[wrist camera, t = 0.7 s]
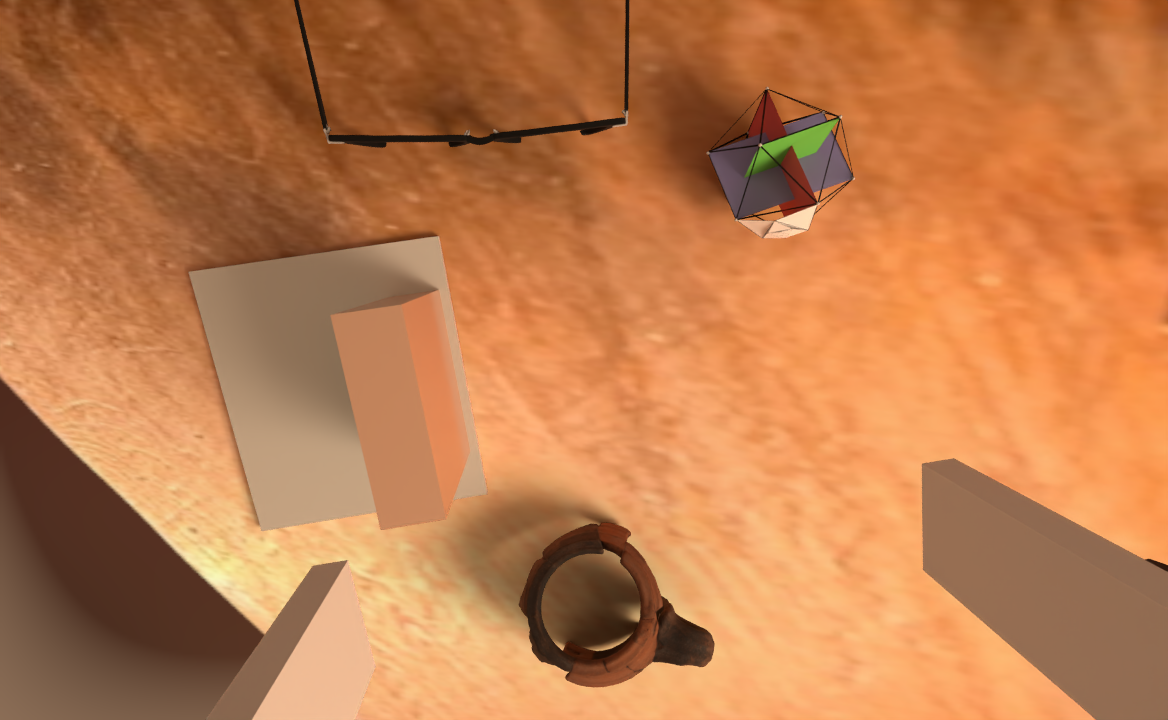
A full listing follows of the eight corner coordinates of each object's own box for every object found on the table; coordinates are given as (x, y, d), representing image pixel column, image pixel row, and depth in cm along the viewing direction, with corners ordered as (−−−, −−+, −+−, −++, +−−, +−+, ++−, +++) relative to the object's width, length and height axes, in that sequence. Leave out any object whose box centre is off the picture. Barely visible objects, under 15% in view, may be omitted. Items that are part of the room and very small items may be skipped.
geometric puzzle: (687, 91, 30) (754, 162, 25) (807, 49, 30) (898, 112, 25) (696, 202, 35) (752, 279, 30) (798, 166, 35) (871, 238, 30)
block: (386, 297, 33) (329, 315, 24) (439, 289, 33) (401, 304, 24) (421, 458, 35) (379, 530, 26) (470, 450, 35) (446, 519, 26)
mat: (192, 271, 32) (188, 271, 32) (439, 236, 33) (437, 235, 32) (264, 528, 35) (261, 531, 35) (487, 491, 36) (487, 494, 35)
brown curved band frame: (521, 650, 39) (492, 676, 31) (554, 511, 41) (535, 503, 34) (697, 698, 37) (713, 740, 29) (719, 550, 40) (739, 551, 32)
